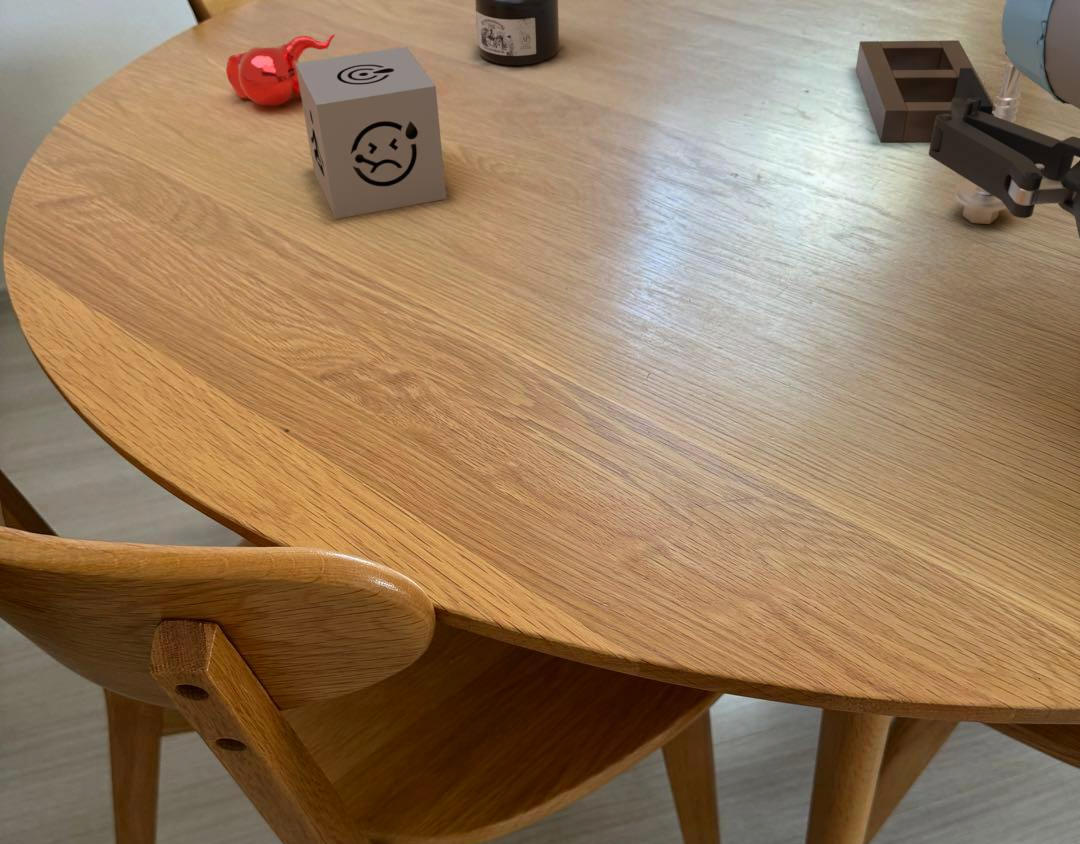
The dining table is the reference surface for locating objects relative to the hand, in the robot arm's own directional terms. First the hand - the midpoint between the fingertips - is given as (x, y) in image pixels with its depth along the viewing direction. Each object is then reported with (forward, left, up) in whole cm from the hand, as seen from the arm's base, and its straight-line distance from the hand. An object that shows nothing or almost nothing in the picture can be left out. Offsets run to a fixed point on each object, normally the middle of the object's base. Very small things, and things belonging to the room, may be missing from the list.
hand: (1064, 87), depth 78 cm
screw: (0, -12, -15) cm, 19 cm away
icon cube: (+52, -18, -15) cm, 57 cm away
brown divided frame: (+1, -36, -15) cm, 39 cm away
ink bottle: (+42, -51, -15) cm, 68 cm away
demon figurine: (+65, -38, -15) cm, 77 cm away
